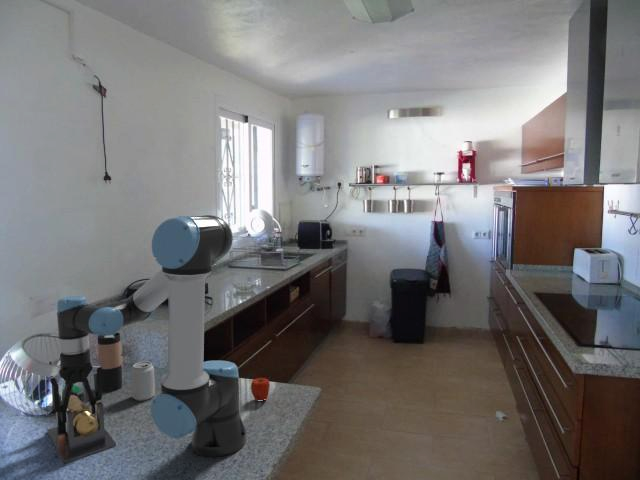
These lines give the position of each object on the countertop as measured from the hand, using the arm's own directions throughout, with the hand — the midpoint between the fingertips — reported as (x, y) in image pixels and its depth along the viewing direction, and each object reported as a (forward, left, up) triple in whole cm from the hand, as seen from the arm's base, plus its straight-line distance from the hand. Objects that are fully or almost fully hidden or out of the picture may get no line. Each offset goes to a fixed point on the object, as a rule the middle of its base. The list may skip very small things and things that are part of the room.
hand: (79, 428), depth 131 cm
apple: (-14, -53, -3) cm, 55 cm away
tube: (0, +1, +2) cm, 2 cm away
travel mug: (+32, -18, -3) cm, 37 cm away
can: (+16, -24, -3) cm, 29 cm away
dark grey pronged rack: (0, 0, -3) cm, 3 cm away
